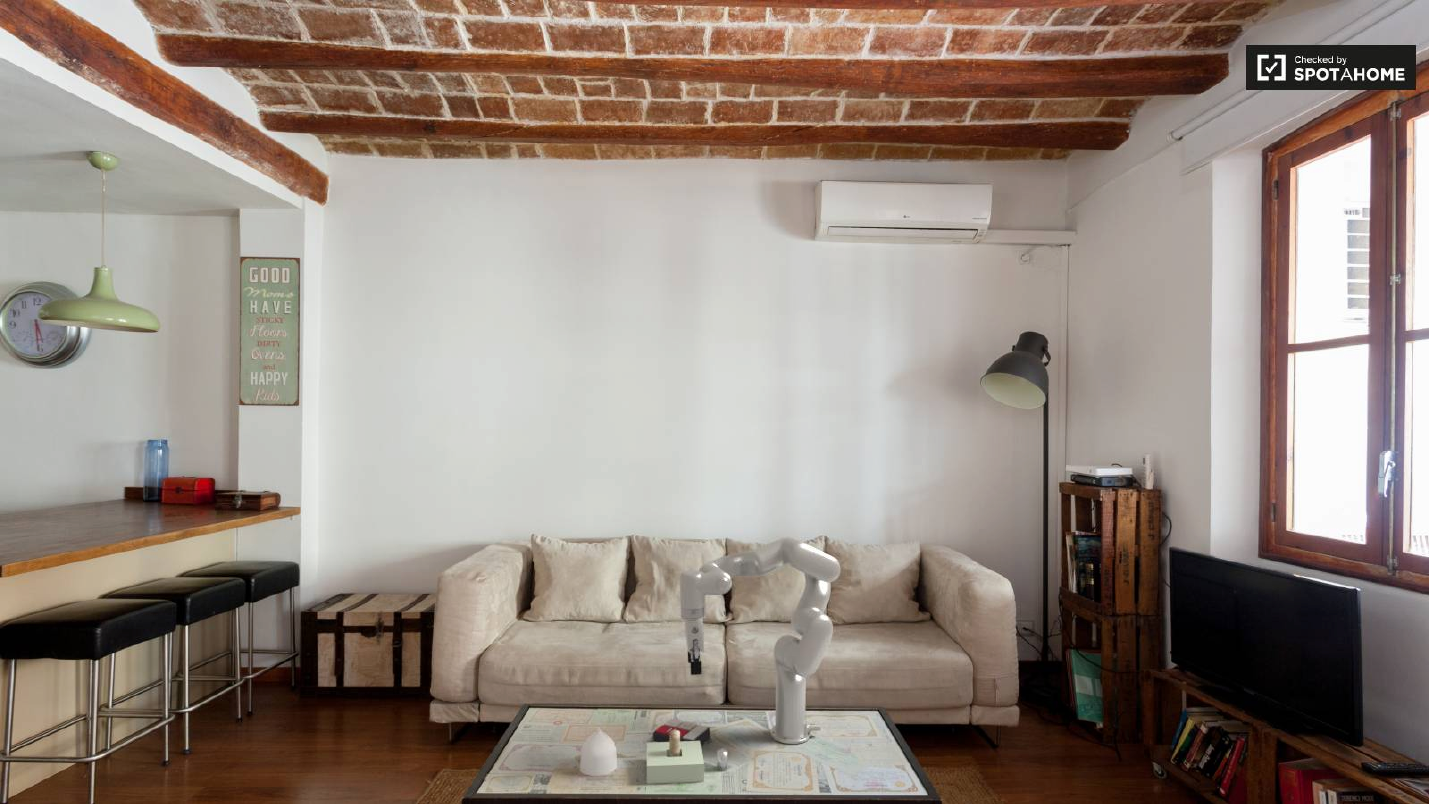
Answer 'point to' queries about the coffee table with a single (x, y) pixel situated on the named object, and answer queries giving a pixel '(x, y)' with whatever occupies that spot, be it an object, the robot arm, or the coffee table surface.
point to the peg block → (674, 763)
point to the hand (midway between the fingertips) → (694, 668)
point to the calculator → (682, 731)
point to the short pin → (722, 759)
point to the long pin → (674, 743)
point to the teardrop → (598, 754)
